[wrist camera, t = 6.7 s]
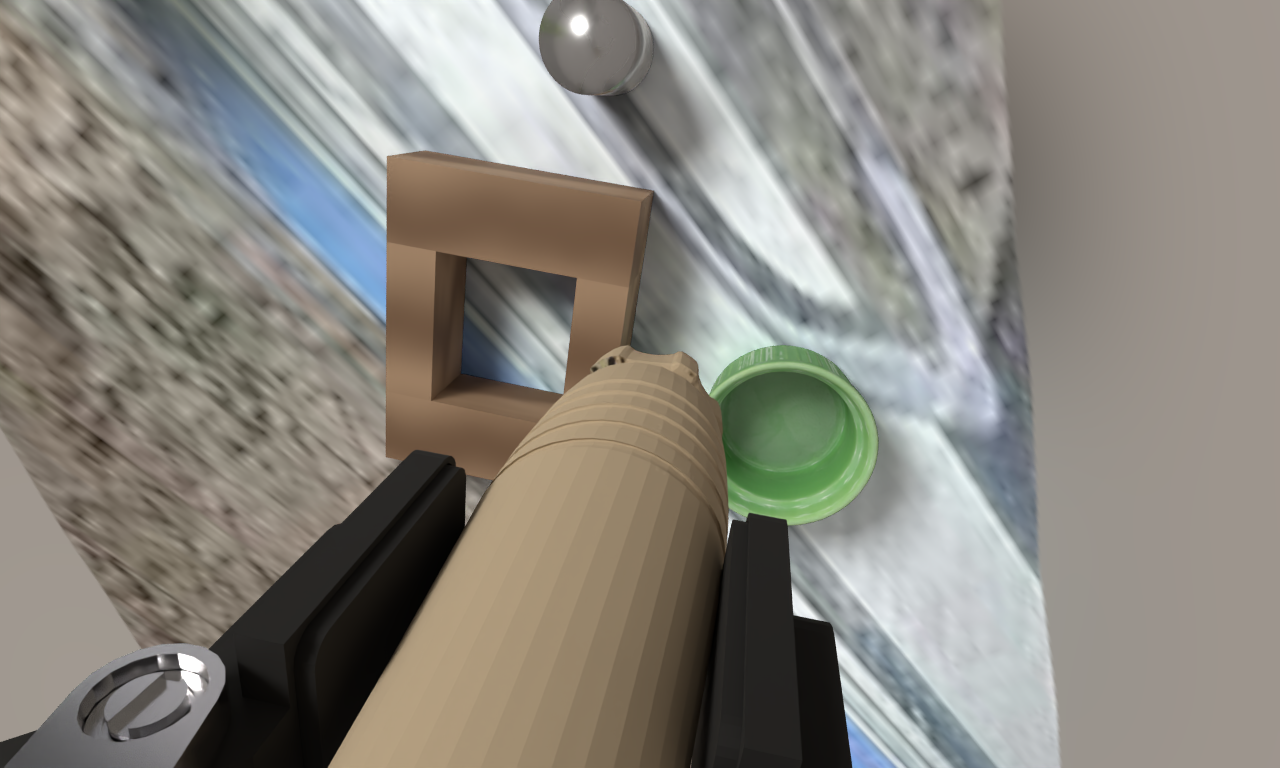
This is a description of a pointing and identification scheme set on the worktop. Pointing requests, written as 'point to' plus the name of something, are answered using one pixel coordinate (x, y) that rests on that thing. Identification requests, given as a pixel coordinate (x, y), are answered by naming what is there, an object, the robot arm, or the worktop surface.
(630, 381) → the handle
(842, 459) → the ramekin
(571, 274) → the hole block
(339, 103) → the worktop surface
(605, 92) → the short pin
